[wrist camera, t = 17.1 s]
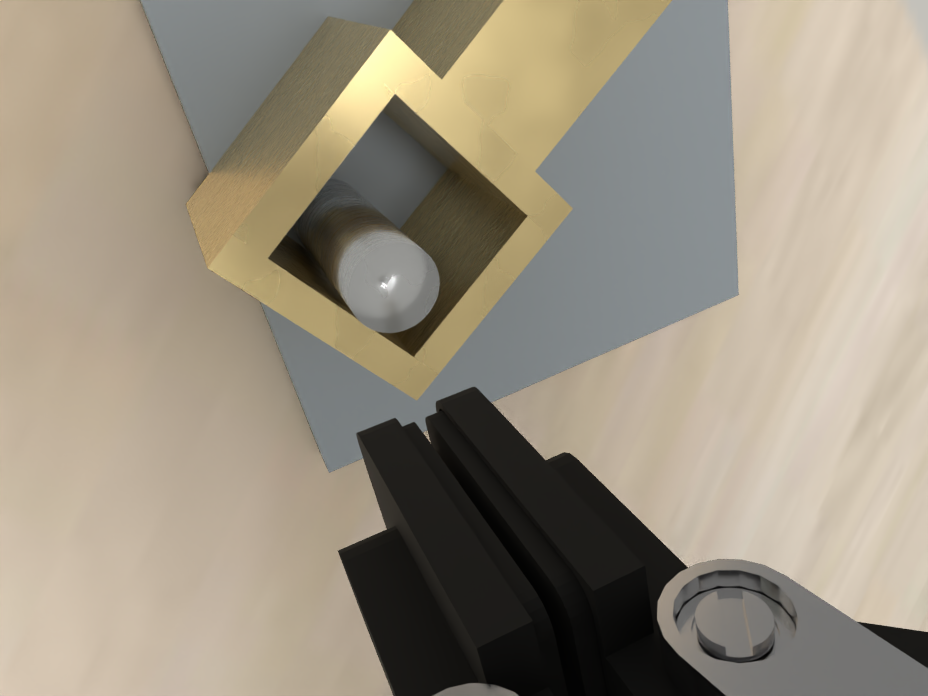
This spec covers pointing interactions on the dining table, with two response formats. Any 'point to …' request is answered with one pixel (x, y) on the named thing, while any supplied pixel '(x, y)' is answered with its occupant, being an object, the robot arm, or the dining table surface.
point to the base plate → (565, 169)
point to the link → (438, 131)
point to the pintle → (368, 259)
